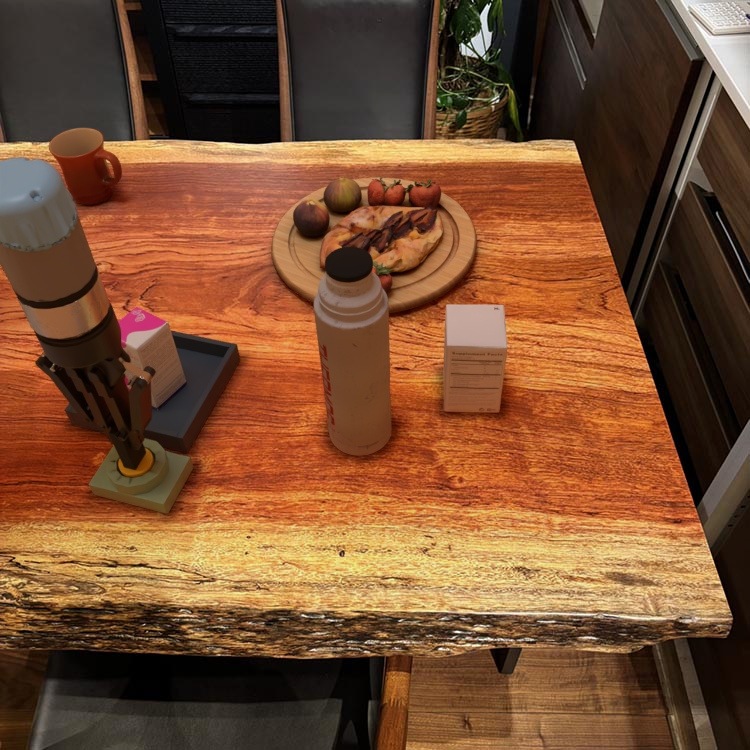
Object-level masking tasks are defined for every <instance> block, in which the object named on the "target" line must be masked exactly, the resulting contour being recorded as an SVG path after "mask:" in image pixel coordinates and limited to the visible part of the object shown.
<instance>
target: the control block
mask: <svg viewBox="0 0 750 750" xmlns="http://www.w3.org/2000/svg"><path fill="white" fill-rule="evenodd" d="M143 445H144V447H145V448H146V449H148V450H149V451H150V452H151V453H152V456H153V458H154V461H155V464H154V466H153V467H152V469H151V470H150V471H149V472H148V473H146V474H145V475H143V476H141V477H136V478H128V477H124V476H123V475H122V473H121V471H120V469H119V466H118V463H119V459H120V457H119V455H118V453H117V451H116V449H115V446H114V445H113V444H112V447H111V449H110V450H109V452H108V453H107V455H106V456H105V458H104V459H103V461H102V462H101V464H100V465H99V467H98V468H97V470H96V471H95V473H94V475H93V476H92V478H91V479H90V481H89V483H88V487H89V488H90V491H91V492H92V494H93V496H98V497H102V498H106V499H109V500H113V501H117V502H120V503H125V504H129V505H132V506H135V507H139V508H144V509H147V510H151V511H154V512H158V513H161V514H166V515H169V514H170V512H171V509H172V508H173V506H174V504H175V502H176V501H177V499H178V497H179V495H180V493H181V491H182V490H183V488H184V486H185V484H186V482H187V480H188V478H189V477H190V475H191V473H192V471H193V469H194V464H193V461H192V459H191V457H190V456H187V455H183V454H179V453H174V452H171V451H167V450H166V449H165V448H164V447H162V446H161V445H160V444H159V443H158V442H157V441H154V440H150V439H146V438H145V439H144V442H143Z"/></svg>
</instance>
